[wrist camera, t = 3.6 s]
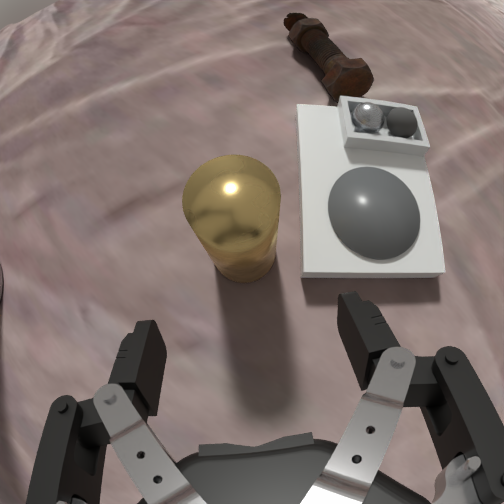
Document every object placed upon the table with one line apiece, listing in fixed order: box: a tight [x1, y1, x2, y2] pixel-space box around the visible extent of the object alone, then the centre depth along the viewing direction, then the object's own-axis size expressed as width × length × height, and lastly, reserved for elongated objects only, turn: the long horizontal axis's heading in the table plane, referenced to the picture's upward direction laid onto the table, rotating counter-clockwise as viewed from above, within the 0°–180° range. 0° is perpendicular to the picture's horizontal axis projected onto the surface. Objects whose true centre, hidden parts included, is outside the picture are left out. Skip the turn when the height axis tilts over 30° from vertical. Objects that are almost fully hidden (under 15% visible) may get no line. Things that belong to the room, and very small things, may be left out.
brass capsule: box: [182, 155, 281, 283], centre depth 20 cm, size 5×5×10 cm
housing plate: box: [296, 96, 445, 278], centre depth 25 cm, size 12×16×4 cm
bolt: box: [284, 13, 374, 102], centre depth 30 cm, size 6×5×15 cm
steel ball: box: [352, 102, 385, 134], centre depth 24 cm, size 3×3×3 cm
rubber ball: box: [387, 107, 418, 138], centre depth 24 cm, size 3×3×3 cm
